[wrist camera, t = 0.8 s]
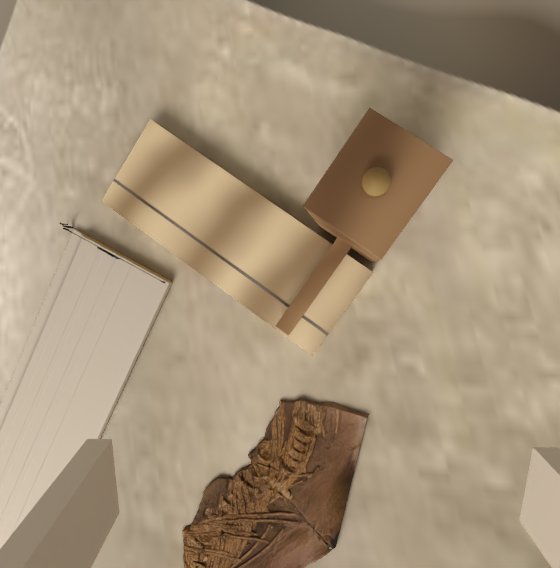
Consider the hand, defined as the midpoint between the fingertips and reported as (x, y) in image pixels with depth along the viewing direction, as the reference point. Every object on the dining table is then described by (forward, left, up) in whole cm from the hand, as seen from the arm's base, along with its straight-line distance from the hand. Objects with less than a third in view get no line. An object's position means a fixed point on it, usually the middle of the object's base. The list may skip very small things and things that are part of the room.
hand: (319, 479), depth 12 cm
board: (+13, -3, -20) cm, 24 cm away
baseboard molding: (+19, +20, -21) cm, 34 cm away
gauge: (+5, -6, -20) cm, 21 cm away
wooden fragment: (-3, +16, -21) cm, 26 cm away
